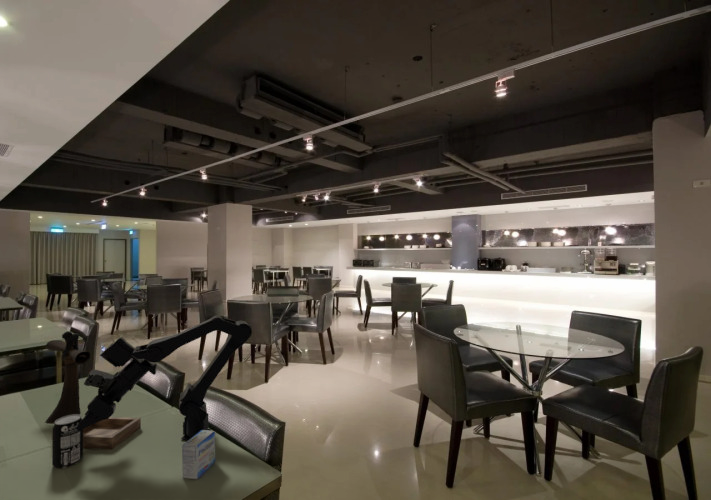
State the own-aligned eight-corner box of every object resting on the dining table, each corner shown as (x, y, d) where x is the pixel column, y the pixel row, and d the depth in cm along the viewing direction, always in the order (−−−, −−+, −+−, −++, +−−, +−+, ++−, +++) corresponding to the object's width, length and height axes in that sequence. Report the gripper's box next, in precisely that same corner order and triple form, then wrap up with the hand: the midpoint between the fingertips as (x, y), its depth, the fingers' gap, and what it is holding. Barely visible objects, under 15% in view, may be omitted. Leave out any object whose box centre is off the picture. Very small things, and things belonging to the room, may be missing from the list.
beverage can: (64, 456, 99) (64, 413, 99) (88, 455, 100) (88, 412, 100) (45, 470, 93) (46, 425, 93) (72, 469, 93) (72, 424, 93)
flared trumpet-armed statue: (96, 424, 118) (96, 335, 119) (60, 436, 110) (61, 340, 111) (65, 401, 136) (66, 325, 137) (33, 410, 129) (33, 329, 129)
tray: (140, 428, 115) (140, 417, 115) (111, 449, 102) (111, 437, 102) (93, 427, 116) (93, 416, 116) (59, 447, 104) (59, 435, 104)
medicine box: (197, 480, 88) (197, 445, 88) (181, 478, 89) (181, 444, 89) (215, 462, 96) (215, 430, 96) (201, 460, 97) (201, 429, 97)
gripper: (111, 351, 109) (66, 393, 104) (98, 369, 92) (43, 420, 87) (141, 373, 112) (98, 414, 107) (133, 394, 95) (82, 444, 90)
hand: (81, 422), depth 98 cm, fingers open, 9 cm apart
